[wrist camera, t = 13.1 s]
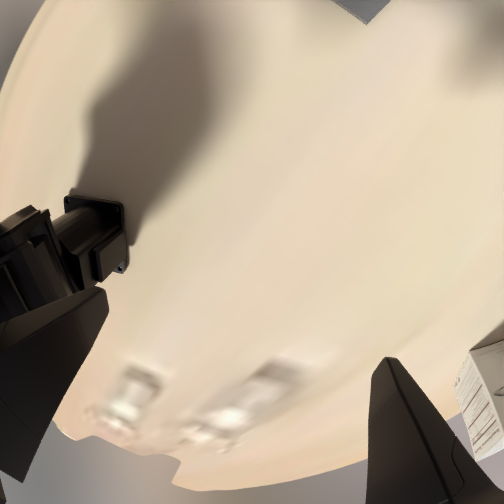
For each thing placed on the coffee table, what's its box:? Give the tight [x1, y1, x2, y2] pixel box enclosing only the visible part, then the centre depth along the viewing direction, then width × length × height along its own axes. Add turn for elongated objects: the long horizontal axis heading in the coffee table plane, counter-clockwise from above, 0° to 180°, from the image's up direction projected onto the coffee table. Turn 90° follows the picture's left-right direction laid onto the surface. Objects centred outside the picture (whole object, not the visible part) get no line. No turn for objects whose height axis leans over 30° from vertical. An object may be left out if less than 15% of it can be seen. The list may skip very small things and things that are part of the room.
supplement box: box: [453, 340, 504, 462], centre depth 19 cm, size 7×7×13 cm
